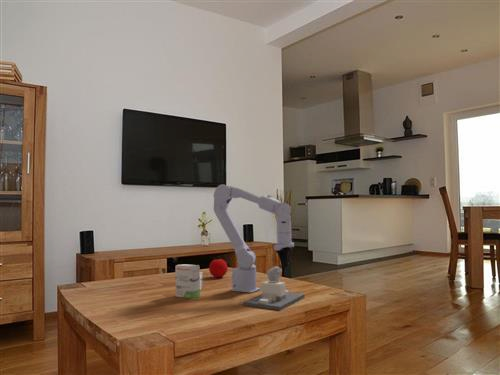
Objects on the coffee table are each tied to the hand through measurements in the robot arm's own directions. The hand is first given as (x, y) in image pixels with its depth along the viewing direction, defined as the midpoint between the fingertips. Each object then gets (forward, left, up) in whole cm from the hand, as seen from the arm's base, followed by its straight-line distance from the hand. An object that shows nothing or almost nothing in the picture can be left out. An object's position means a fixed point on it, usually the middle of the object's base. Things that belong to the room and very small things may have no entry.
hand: (284, 266), depth 147 cm
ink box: (-29, -25, -10) cm, 39 cm away
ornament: (-42, +13, -10) cm, 45 cm away
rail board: (+4, -17, -9) cm, 20 cm away
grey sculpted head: (-12, +14, -10) cm, 21 cm away
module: (+4, -18, -8) cm, 20 cm away
